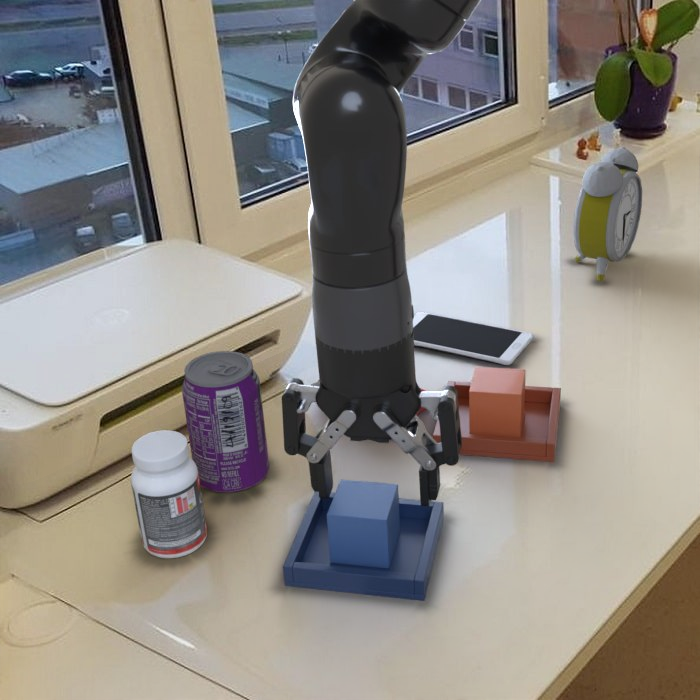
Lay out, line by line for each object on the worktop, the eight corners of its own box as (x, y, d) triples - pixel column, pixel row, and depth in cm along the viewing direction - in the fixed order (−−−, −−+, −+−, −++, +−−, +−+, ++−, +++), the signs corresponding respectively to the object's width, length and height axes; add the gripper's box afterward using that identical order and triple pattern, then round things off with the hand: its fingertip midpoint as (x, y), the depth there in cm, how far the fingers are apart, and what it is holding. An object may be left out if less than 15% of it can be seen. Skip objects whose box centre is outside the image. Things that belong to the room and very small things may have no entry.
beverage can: (283, 464, 103) (271, 355, 97) (246, 505, 97) (232, 392, 92) (220, 450, 106) (205, 343, 100) (181, 489, 100) (163, 379, 95)
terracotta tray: (560, 404, 110) (561, 387, 109) (554, 462, 101) (555, 444, 100) (448, 397, 112) (448, 380, 111) (432, 452, 103) (432, 435, 102)
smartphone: (510, 362, 117) (389, 336, 124) (510, 367, 117) (389, 341, 124) (535, 333, 122) (418, 310, 129) (535, 338, 123) (418, 315, 129)
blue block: (400, 531, 92) (398, 484, 90) (389, 569, 88) (386, 520, 85) (343, 526, 93) (340, 479, 91) (330, 563, 89) (326, 514, 86)
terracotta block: (524, 412, 108) (525, 369, 106) (520, 439, 104) (521, 394, 101) (475, 408, 109) (475, 366, 107) (469, 435, 105) (469, 391, 102)
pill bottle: (221, 538, 93) (207, 443, 89) (168, 570, 90) (151, 472, 85) (182, 512, 97) (167, 419, 92) (129, 541, 94) (111, 446, 89)
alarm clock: (609, 287, 134) (616, 172, 127) (557, 278, 137) (562, 165, 130) (639, 253, 142) (648, 144, 135) (590, 245, 146) (596, 138, 138)
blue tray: (443, 520, 94) (443, 501, 93) (424, 601, 85) (423, 581, 84) (316, 508, 96) (314, 490, 96) (284, 585, 87) (282, 566, 86)
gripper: (259, 343, 79) (282, 518, 87) (450, 350, 76) (456, 531, 84) (286, 299, 86) (305, 466, 93) (462, 304, 83) (467, 476, 90)
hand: (376, 496), depth 89 cm, fingers open, 8 cm apart
